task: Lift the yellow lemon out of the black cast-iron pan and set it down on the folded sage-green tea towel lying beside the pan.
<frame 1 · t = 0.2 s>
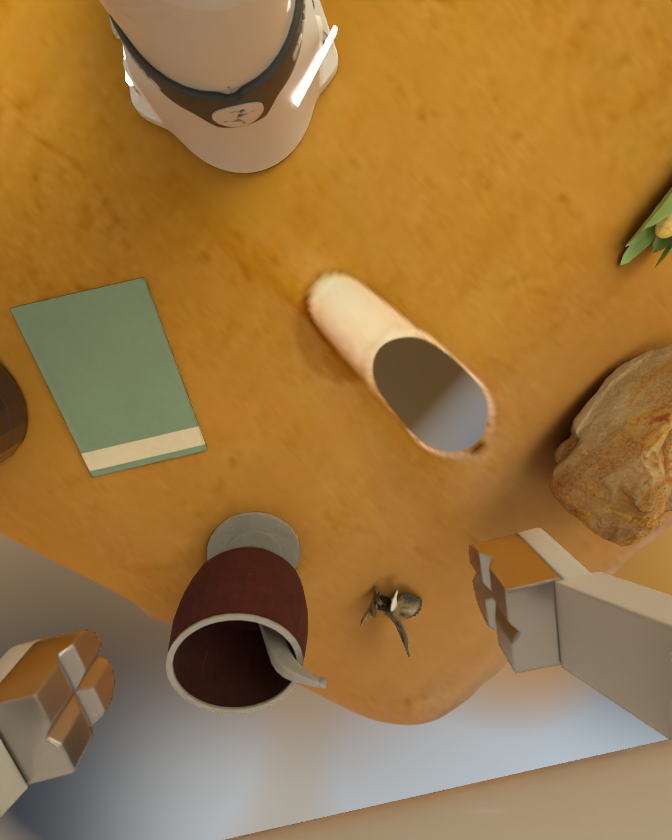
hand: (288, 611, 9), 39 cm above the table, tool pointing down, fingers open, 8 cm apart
rough brown rock: (612, 433, 53), on the table
tea towel: (117, 384, 45), on the table
mate gourd: (260, 549, 54), on the table
eagle figurine: (392, 599, 60), on the table
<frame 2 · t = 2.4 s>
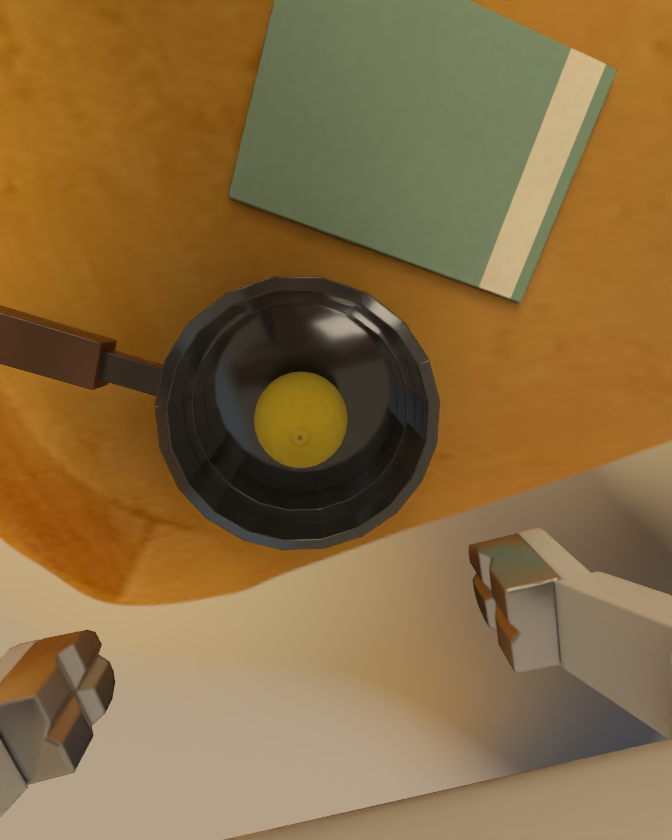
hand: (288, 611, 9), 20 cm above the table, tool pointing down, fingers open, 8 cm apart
tea towel: (419, 137, 25), on the table
lemon: (302, 403, 28), resting on pan
pan: (302, 402, 28), on the table
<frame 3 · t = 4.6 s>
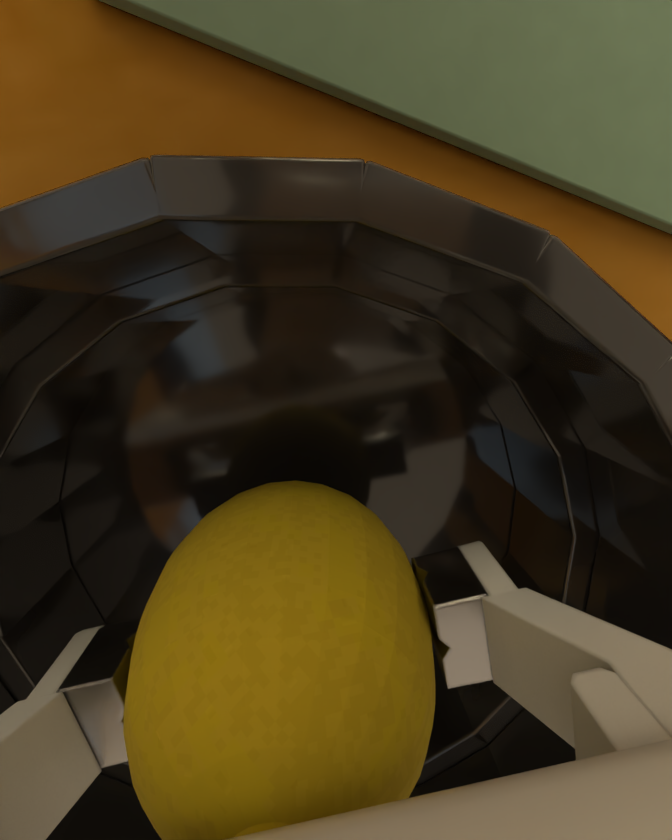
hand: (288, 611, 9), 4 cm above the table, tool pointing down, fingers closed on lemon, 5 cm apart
lemon: (296, 523, 12), resting on pan, touching gripper
pan: (296, 519, 12), on the table
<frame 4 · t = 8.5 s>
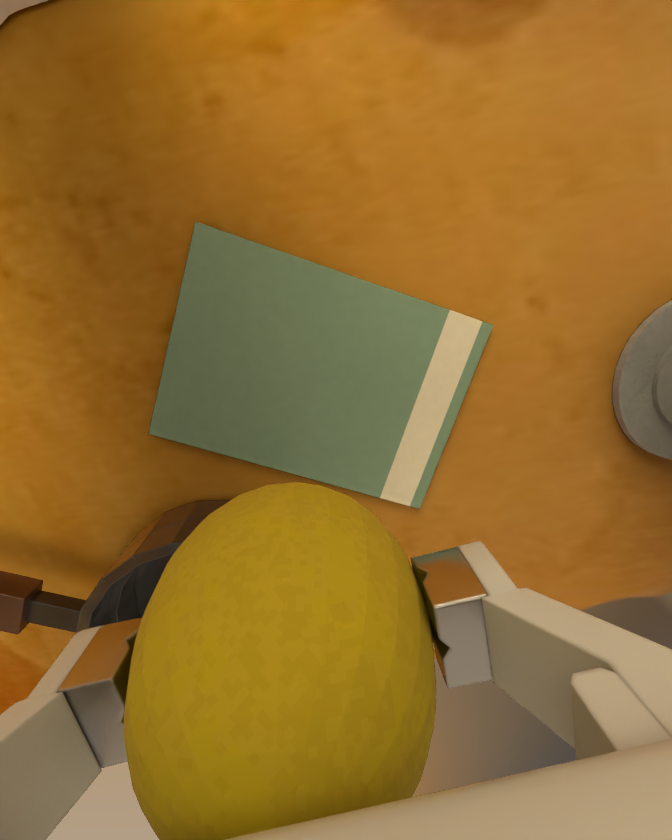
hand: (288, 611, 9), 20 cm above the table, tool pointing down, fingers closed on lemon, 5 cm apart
tea towel: (319, 379, 28), on the table
lemon: (297, 524, 12), point 16 cm above the table, touching gripper
pan: (225, 591, 31), on the table
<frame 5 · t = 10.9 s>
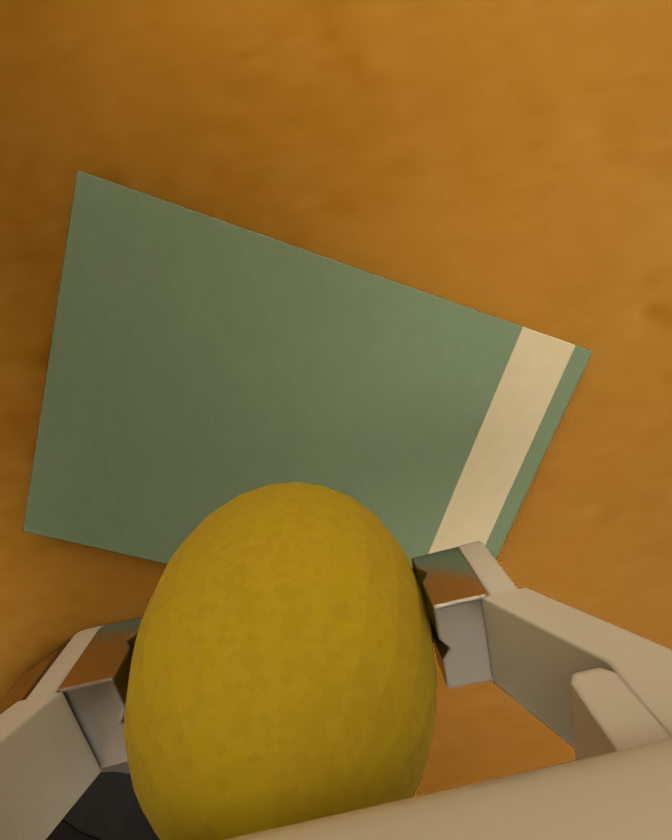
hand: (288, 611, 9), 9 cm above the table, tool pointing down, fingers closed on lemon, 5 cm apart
tea towel: (304, 438, 17), on the table
lemon: (297, 524, 12), point 5 cm above the table, touching gripper
pan: (165, 749, 21), on the table
when the fingers open (4 cm above the table, at t = 12.6 s): lemon stays where it is, resting on tea towel.
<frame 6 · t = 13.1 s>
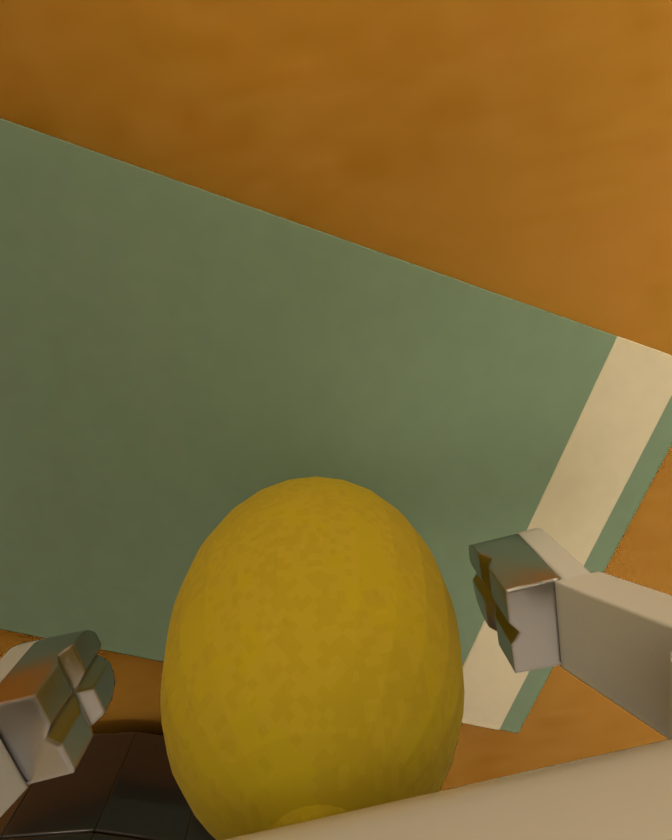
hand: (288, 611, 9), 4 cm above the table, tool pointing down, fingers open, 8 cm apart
tea towel: (311, 488, 12), on the table
lemon: (314, 519, 12), resting on tea towel
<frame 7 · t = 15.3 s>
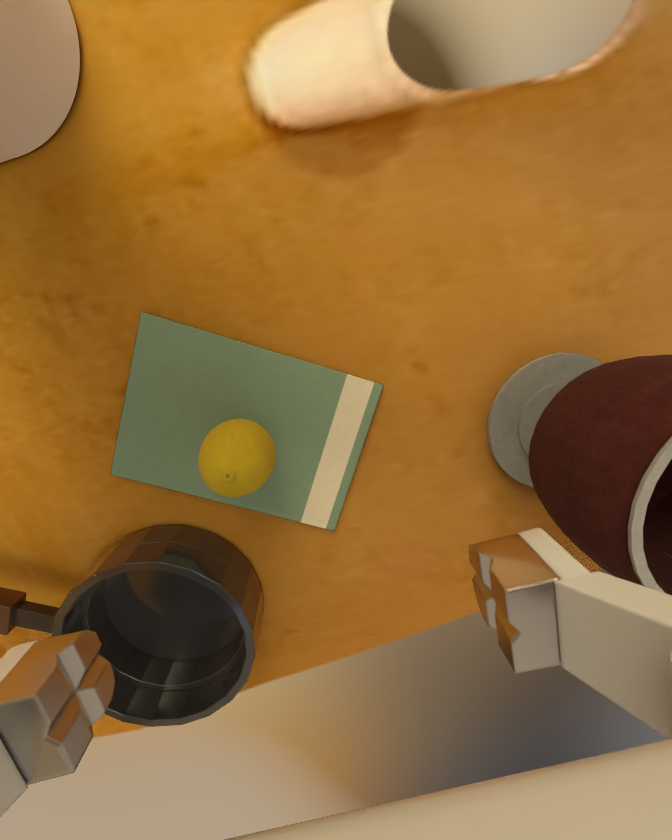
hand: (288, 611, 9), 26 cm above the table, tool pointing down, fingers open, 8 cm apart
tea towel: (246, 428, 34), on the table
lemon: (247, 439, 34), resting on tea towel
mate gourd: (558, 413, 36), on the table
pan: (179, 598, 38), on the table
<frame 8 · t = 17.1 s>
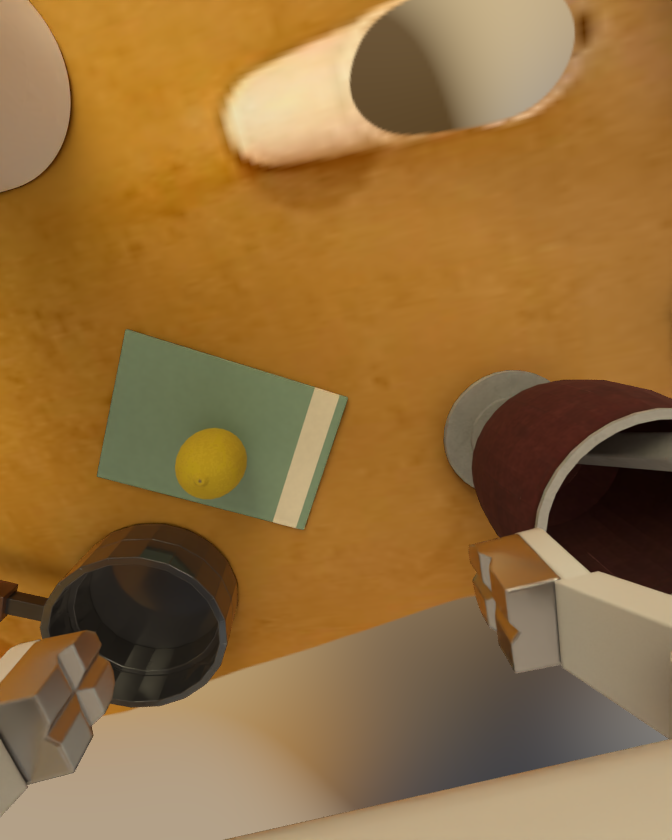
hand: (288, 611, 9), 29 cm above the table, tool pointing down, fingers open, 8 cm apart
tea towel: (222, 436, 37), on the table
lemon: (223, 446, 37), resting on tea towel
mate gourd: (509, 425, 39), on the table
pan: (160, 591, 41), on the table
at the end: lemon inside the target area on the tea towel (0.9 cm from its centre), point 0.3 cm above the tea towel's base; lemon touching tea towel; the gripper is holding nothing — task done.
